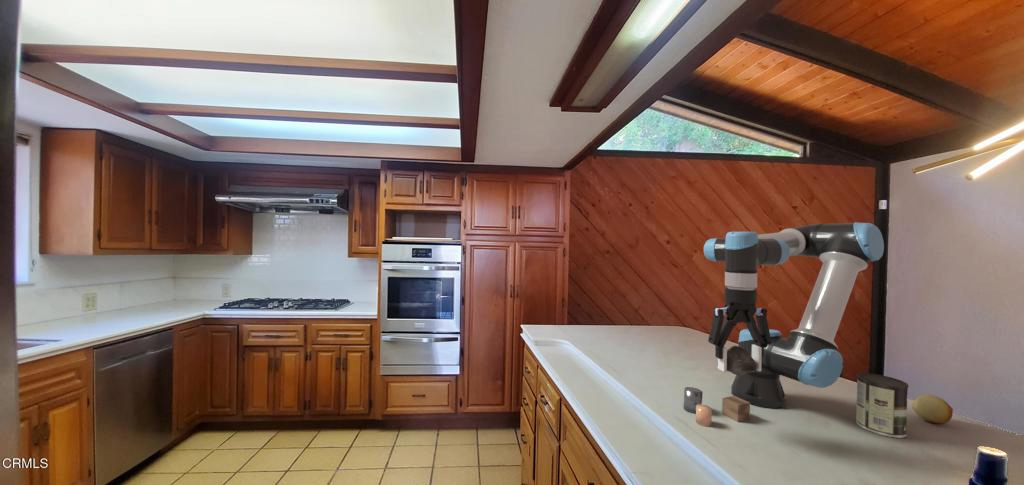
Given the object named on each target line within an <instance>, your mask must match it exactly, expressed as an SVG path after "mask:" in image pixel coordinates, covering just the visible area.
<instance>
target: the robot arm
mask: <svg viewBox="0 0 1024 485" xmlns="http://www.w3.org/2000/svg"><path fill="white" fill-rule="evenodd" d="M884 250H885V243H884V238H883V235H882V232H881V230H880V229H879V227H878V226H877V225H875V224H874V223H870V222H858V221H855V222H845V223H843V222H842V223H814V224H807V225H802V226H801V225H800V226H796V227H795V226H794V227H790V228H785V229H782V230H781V231H779V232H770V233H761V234H758V233H757V232H756V231H728V232H727V233H726V235H725V238H723V237H722V238H720V237H716V238H710V239H707V240H706V241H705V243H704V245H703V254H704V257H705V258H706V259H707V260H708V261H711V262H716V263H724V266H725V267H724V268H725V269H724V286H725V288H724V292H723V294H724V302H725V304H724V306H723V307H720V308H718V307H714V308H713V319H712V324H711V326H710V331H709V336H708V339H707V341H708V343H710V344H711V345H713V346H715V349H714V350H715V352H714V353H715V356H714V357H715V358H717V360H718V367H717V369H718V370H719V371H722V372H723V373H727V372H728V371H727V350H728V348H727V347H725V345H726V343H727V341H728V339H729V337H730V335H731V333H732V331H733V330H734V328H735V326H737V324H740V323H743V324H745V326H746V328H744V329H742V330H740V331H739V335H738V336H739V337H738V341H737V343H738V347H741V348H743V349H745V350H746V351H747V352H748V353H749V354H750V355H751V357H752V358H753V360H754V361H755V364H756V367H757V370H756V371H755V372H750V373H746V374H744V375H740V376H738V375H735V376H734V380H733V383H732V384H731V388H730V389H731V390H730V392H731V396H736V397H738V398H740V399H743V400H745V401H747V402H750V405H754V406H756V407H757V406H758V407H762V408H770V409H780V408H784V407H785V406H786V404H787V401H786V400H787V397H786V394H785V391H784V388H783V385H782V382H781V380H780V379H781V378H780V376H782V377H785V378H787V379H791V380H793V381H797V382H799V383H802V384H804V385H808V386H813V387H816V388H822V389H823V388H828V387H829V386H832V385H833V384H835V383H836V381H837V380H838V379H839V378H840V377H841V376H840V375H841V374H842V371H843V368H844V365H843V363H844V359H843V356H842V354H841V353H840V352H839V351H838V349H839V347H838V345H837V344H836V342H835V341H834V340H835V338H836V335H837V332H838V329H839V326H840V324H841V320H842V319H843V316H844V312H845V311H846V306H847V304H848V302H849V299H850V296H851V293H852V291H853V287H854V285H855V282H856V280H857V277H858V273H859V272H861V271H864V270H866V269H867V268H868V267H869V263H870V262H875V261H879V260H880V259H881V258H883V255H884ZM794 256H798V257H799V256H801V257H809V258H818V259H819V261H820V262H822V264H821V268H820V270H819V273H818V276H817V278H816V281H815V284H814V286H813V288H812V291H811V294H810V297H809V299H808V301H807V305H806V307H805V310H804V313H803V315H802V318H801V320H800V322H799V326H798V328H796V329H793V330H790V332H789V334H788V336H787V337H786V338H785V337H782V336H783V335H782V332H781V331H780V330H777V329H770V327H769V323H768V318H767V316H768V309H767V308H764V307H759V306H758V307H757V306H756V304H757V302H758V291H757V290H756V288H758V266H778V265H782V264H785V262H787V261H788V259H789V258H790V257H794ZM754 316H755V317H754ZM755 319H756V320H755Z"/></svg>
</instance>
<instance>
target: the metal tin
mask: <svg viewBox="0 0 1024 485" xmlns="http://www.w3.org/2000/svg"><path fill="white" fill-rule="evenodd" d="M683 392H684V393H683V394H684V395H683V410H684V411H686V412H689V413H692V414H696V405H698V404H702V405H703V394H704V393H703V391H702V390H701V389H699V388H697V387H693V386H686V387H684V391H683Z"/></svg>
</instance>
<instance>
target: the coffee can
mask: <svg viewBox="0 0 1024 485" xmlns="http://www.w3.org/2000/svg"><path fill="white" fill-rule="evenodd" d="M856 378H857V380H856V416H855V423H856V425H857V426H859V427H860V428H862V429H864V430H866V431H868V432H871V433H872V434H873V433H874V434H877V435H880V436H883V437H890V438H894V439H895V438H897V439H904V438H906V437H907V436H908V434H907V427H908V426H907V415H908V389H909V384H908V383H907V382H905V381H903V380H902V379H901V380H900V379H898V378H894V377H891V376H887V375H882V374H878V373H877V374H876V373H871V372H869V373H867V372H866V373H865V372H860V373H857V374H856Z"/></svg>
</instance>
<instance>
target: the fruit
mask: <svg viewBox="0 0 1024 485" xmlns="http://www.w3.org/2000/svg"><path fill="white" fill-rule="evenodd" d="M911 407H912V409H913V411H914V412H915V414H916V415H917V416H918V417H919V418H922V419H923V420H925V421H926V422H930V423H933V424H938V425H944V424H947V423H948V422H950V420H951V419H952V418H953V413H954V412H953V411H954V408H952V406H951V405H950V404H949V403H948V402H947V401H946V400H944V399H943V398H941V397H939V396H937V395H933V394H928V393H923V394H921V395H919V396H917V397H916V399H914V400H913V401H912V406H911Z"/></svg>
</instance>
